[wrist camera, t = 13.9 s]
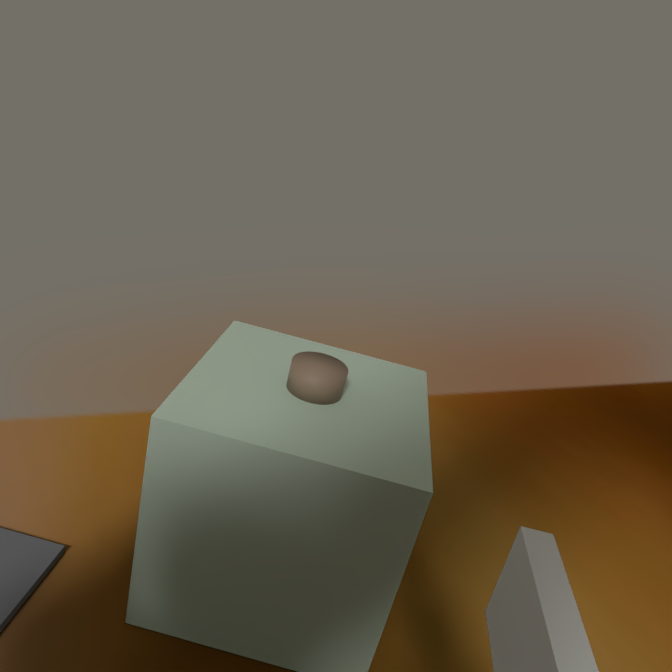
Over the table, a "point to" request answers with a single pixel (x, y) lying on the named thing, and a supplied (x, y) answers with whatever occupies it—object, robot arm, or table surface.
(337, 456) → the sage green cube
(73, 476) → the table surface
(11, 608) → the mat
